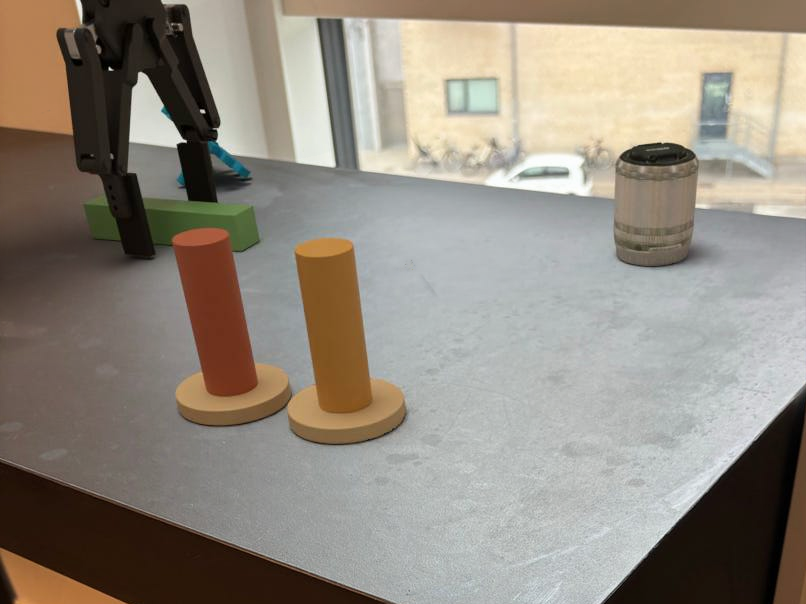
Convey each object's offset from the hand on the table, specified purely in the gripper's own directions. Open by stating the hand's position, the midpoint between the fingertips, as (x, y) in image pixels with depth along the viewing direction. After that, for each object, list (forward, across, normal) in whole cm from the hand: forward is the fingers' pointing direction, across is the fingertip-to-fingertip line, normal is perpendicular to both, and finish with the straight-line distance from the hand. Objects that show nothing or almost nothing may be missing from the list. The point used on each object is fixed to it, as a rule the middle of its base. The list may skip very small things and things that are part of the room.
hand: (174, 236), depth 90 cm
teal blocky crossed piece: (0, +18, +8) cm, 20 cm away
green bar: (0, 0, 0) cm, 0 cm away
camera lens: (0, +6, -42) cm, 42 cm away
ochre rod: (0, -27, -32) cm, 42 cm away
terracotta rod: (0, -27, -24) cm, 36 cm away
